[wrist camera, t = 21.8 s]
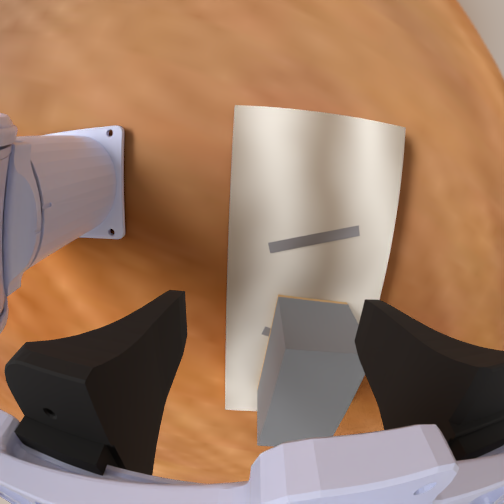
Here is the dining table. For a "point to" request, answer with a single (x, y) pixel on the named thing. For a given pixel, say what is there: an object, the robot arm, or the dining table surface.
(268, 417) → the block
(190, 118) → the dining table surface
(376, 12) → the dining table surface
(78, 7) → the dining table surface
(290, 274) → the cream flat panel
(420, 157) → the dining table surface
